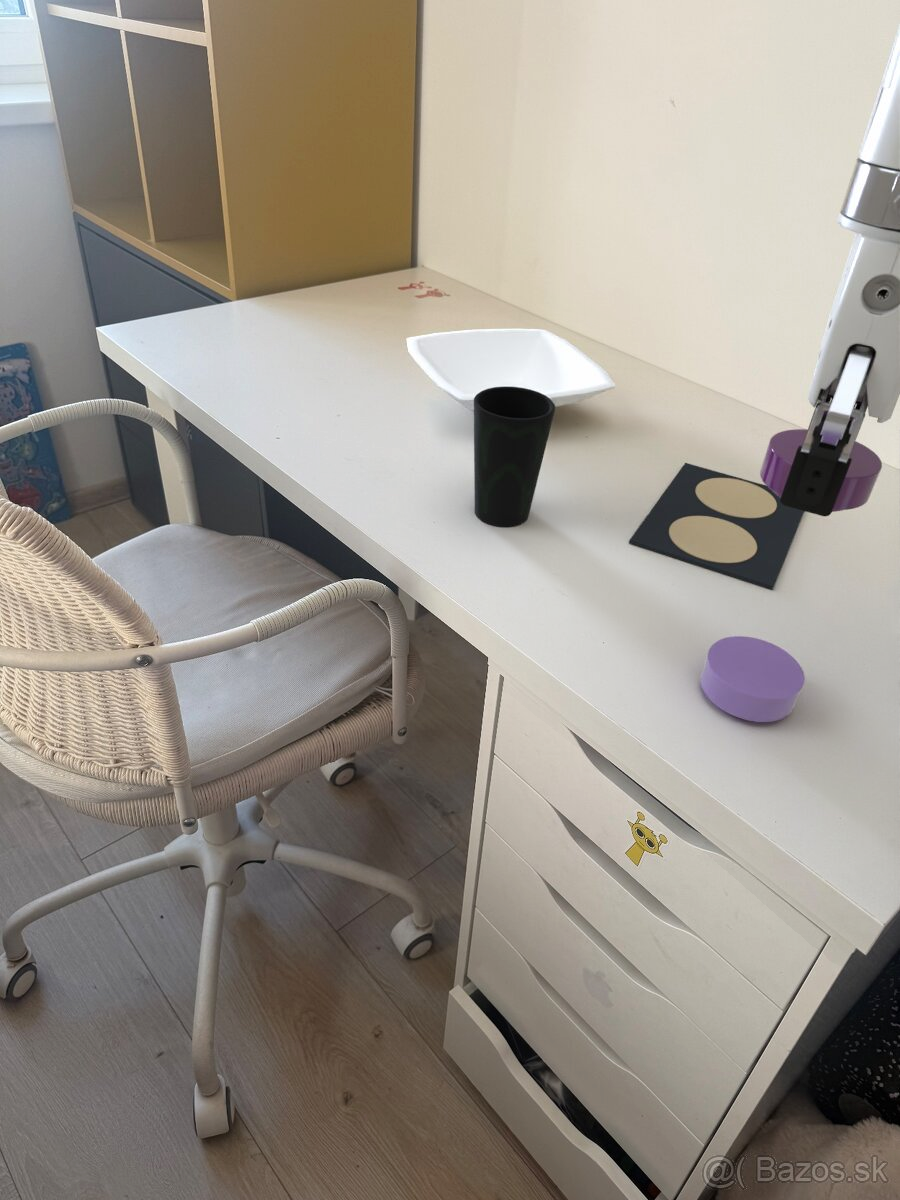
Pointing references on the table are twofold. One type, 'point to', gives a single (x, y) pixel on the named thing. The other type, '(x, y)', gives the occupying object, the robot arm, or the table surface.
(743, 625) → the table surface
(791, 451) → the purple short cylinder
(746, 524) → the placemat
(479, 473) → the cup
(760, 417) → the table surface
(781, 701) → the lavender short cylinder
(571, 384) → the bowl
